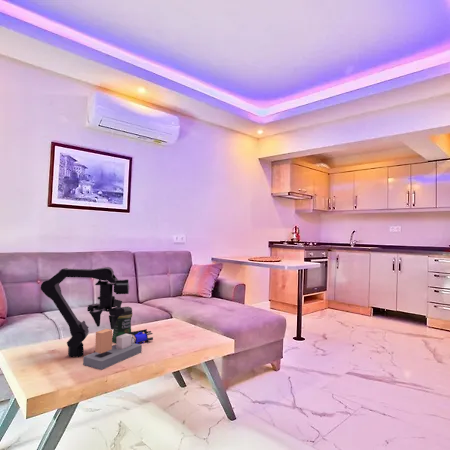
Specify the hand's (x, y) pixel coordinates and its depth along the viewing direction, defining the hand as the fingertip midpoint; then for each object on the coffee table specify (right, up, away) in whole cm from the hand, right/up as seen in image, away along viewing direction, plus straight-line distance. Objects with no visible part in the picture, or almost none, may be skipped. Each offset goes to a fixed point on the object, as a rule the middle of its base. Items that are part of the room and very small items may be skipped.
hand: (105, 327), depth 157 cm
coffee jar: (+2, -14, +19) cm, 23 cm away
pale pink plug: (+9, -12, -1) cm, 15 cm away
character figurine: (+12, -14, +16) cm, 24 cm away
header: (+6, -13, -6) cm, 15 cm away
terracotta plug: (+3, -7, -11) cm, 13 cm away
